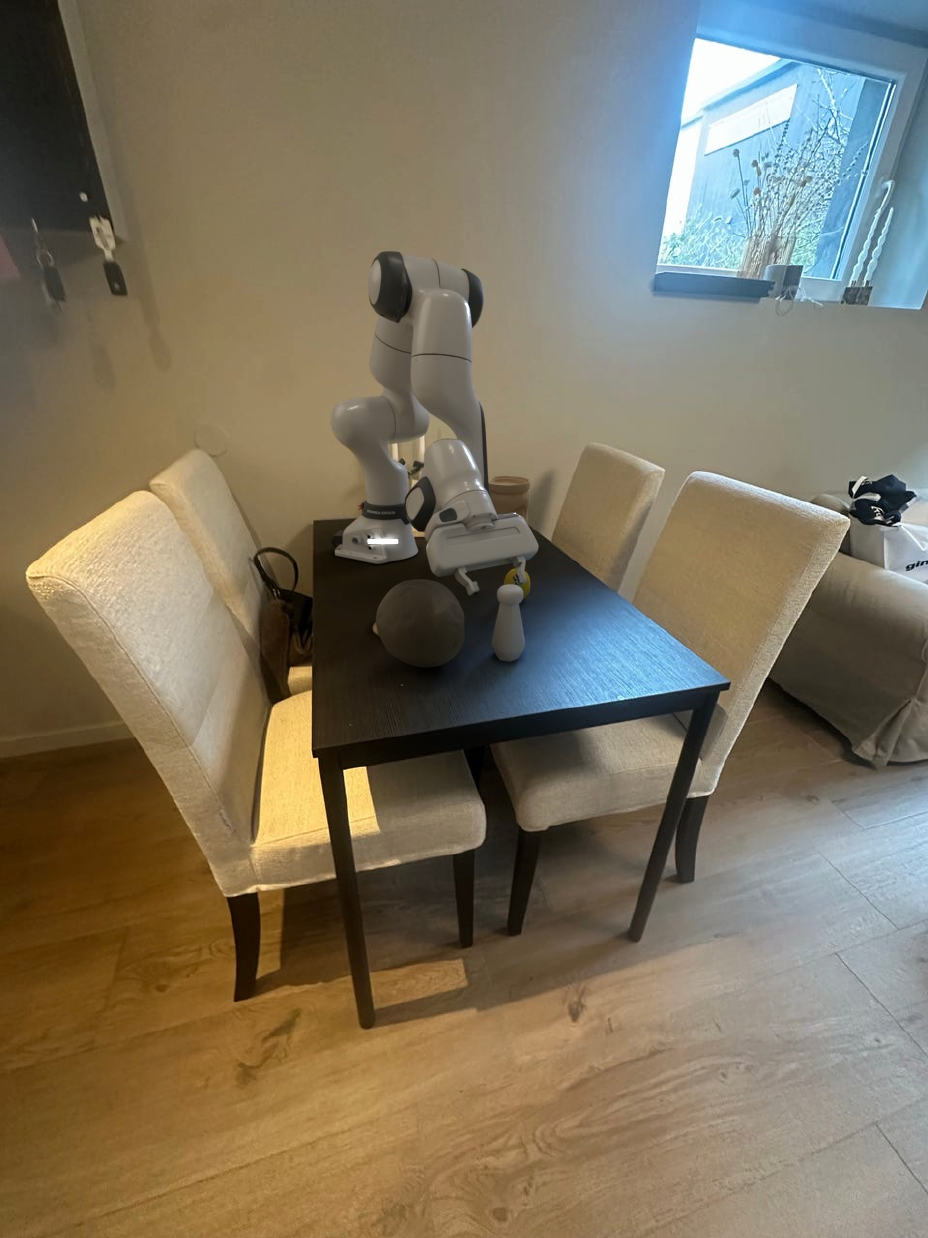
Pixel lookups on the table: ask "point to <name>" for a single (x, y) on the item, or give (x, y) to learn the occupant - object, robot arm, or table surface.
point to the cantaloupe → (421, 623)
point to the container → (510, 495)
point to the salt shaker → (508, 624)
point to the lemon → (524, 586)
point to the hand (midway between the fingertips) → (498, 588)
